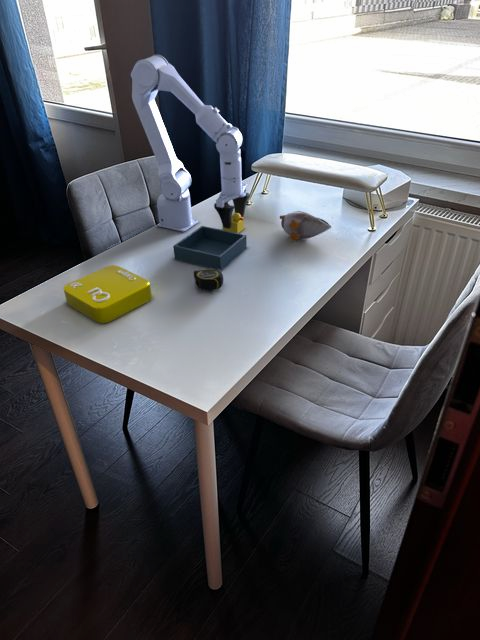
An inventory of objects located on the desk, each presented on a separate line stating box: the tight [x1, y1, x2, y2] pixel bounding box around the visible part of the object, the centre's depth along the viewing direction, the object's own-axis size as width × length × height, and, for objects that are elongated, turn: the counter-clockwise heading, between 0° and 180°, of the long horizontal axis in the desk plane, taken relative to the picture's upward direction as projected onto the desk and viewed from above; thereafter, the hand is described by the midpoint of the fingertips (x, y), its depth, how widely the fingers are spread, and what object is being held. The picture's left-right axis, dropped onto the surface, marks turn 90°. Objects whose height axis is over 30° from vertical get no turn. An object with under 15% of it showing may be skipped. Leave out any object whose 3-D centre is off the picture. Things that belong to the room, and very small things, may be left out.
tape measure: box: [193, 268, 224, 292], centre depth 121 cm, size 7×7×4 cm
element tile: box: [62, 264, 153, 325], centre depth 116 cm, size 15×15×5 cm
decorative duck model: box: [279, 210, 332, 243], centre depth 143 cm, size 15×8×15 cm
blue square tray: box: [172, 225, 248, 271], centre depth 135 cm, size 14×14×4 cm
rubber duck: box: [221, 212, 245, 234], centre depth 146 cm, size 6×4×5 cm, turn 64°
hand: (233, 222), depth 147 cm, fingers open, 7 cm apart
